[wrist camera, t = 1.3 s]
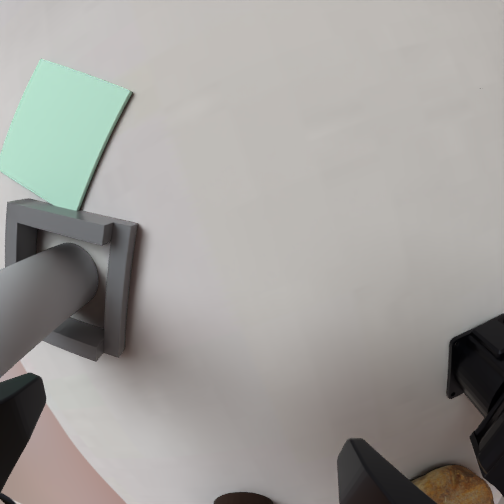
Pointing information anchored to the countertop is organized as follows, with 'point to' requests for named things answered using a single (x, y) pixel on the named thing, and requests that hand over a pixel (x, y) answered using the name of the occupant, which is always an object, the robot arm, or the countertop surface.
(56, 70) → the pad
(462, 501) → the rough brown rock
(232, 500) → the coffee mug
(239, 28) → the countertop surface
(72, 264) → the capped gray cylinder
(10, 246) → the gray square frame
